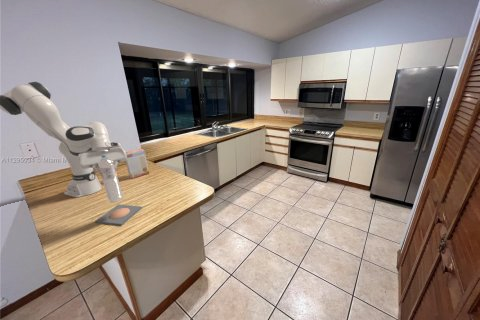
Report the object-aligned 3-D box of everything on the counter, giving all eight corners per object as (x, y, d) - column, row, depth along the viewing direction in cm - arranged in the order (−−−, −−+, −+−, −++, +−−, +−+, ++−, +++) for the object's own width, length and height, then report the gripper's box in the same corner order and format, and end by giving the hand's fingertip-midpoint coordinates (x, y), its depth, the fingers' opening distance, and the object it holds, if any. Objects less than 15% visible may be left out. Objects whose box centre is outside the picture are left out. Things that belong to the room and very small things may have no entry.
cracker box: (146, 171, 168) (141, 148, 161) (149, 173, 164) (144, 149, 157) (129, 177, 159) (123, 152, 152) (131, 179, 155) (125, 153, 148)
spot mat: (95, 222, 103) (94, 220, 103) (118, 205, 118) (118, 204, 118) (121, 225, 100) (121, 223, 100) (142, 208, 115) (141, 206, 115)
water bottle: (111, 197, 108) (98, 154, 100) (125, 195, 110) (113, 152, 101) (106, 203, 102) (92, 158, 94) (121, 201, 103) (108, 156, 95)
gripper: (75, 149, 96) (80, 174, 92) (123, 142, 107) (129, 164, 102) (79, 155, 101) (83, 179, 97) (124, 148, 112) (130, 169, 107)
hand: (107, 171), depth 100 cm, fingers closed on water bottle, 6 cm apart
